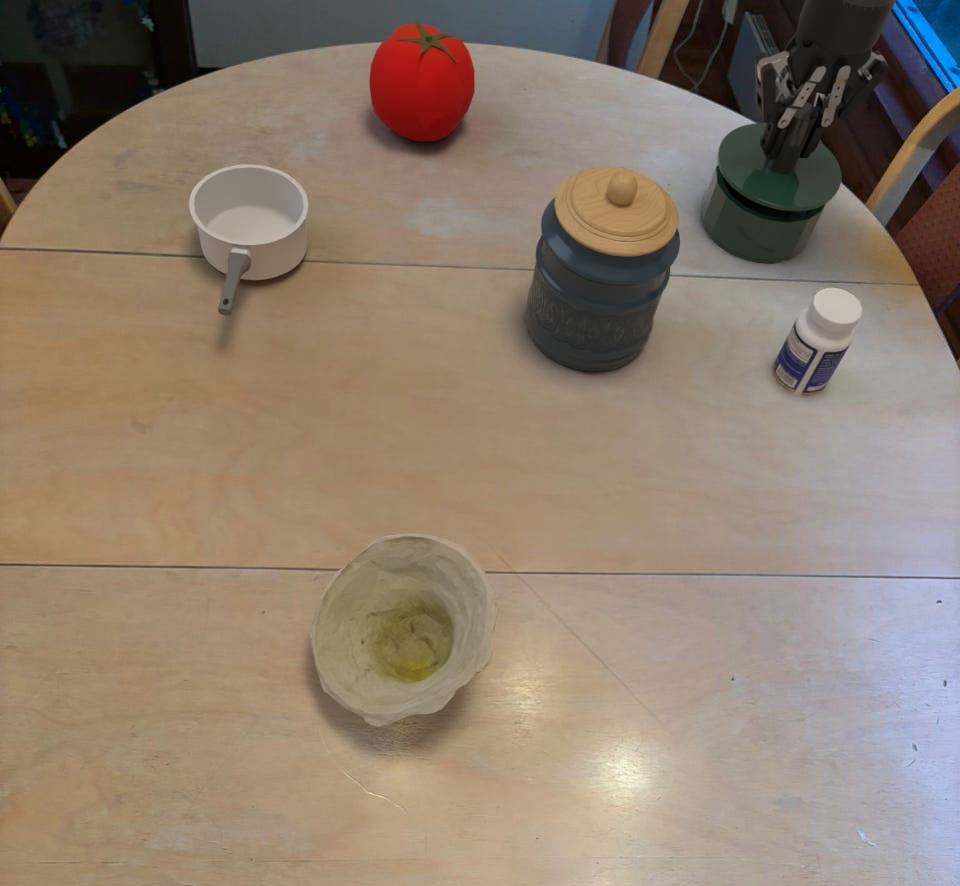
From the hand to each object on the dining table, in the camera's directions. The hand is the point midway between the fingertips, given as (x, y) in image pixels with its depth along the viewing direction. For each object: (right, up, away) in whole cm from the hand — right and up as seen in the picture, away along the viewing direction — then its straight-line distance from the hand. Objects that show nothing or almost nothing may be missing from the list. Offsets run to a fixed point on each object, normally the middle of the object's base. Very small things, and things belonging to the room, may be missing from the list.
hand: (785, 153), depth 99 cm
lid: (0, -1, +2) cm, 2 cm away
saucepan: (-56, -15, -3) cm, 58 cm away
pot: (-1, -4, +8) cm, 9 cm away
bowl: (-39, -53, -21) cm, 69 cm away
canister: (-21, -19, -2) cm, 28 cm away
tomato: (-39, +8, +10) cm, 41 cm away
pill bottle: (0, -24, -2) cm, 25 cm away
